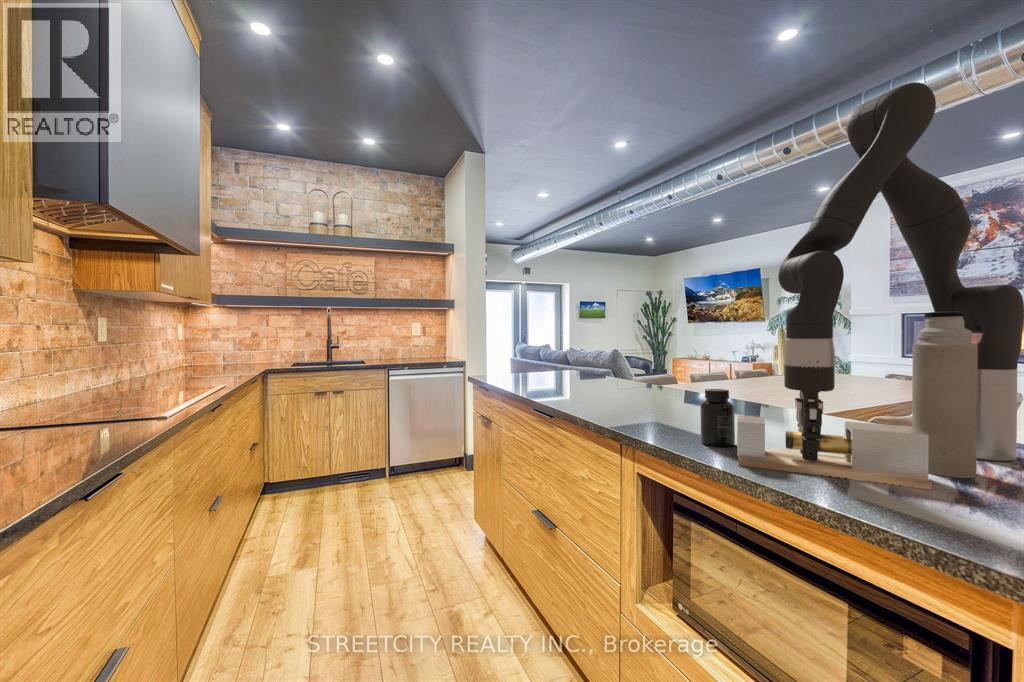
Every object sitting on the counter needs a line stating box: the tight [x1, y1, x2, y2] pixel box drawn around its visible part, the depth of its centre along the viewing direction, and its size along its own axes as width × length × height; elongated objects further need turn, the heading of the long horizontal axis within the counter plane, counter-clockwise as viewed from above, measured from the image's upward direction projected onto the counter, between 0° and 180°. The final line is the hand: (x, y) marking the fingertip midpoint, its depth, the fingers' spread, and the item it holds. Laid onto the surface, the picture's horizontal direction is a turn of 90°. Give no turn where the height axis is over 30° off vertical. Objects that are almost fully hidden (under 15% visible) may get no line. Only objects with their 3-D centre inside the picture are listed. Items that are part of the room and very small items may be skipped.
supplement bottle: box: [699, 388, 736, 448], centre depth 94 cm, size 7×7×12 cm
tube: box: [784, 430, 851, 456], centre depth 76 cm, size 16×3×3 cm, turn 61°
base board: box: [738, 448, 933, 490], centre depth 77 cm, size 10×26×1 cm, turn 61°
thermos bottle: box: [911, 311, 978, 479], centre depth 75 cm, size 8×8×28 cm
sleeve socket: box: [736, 414, 929, 479], centre depth 77 cm, size 7×27×7 cm, turn 61°
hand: (808, 456), depth 78 cm, fingers closed on tube, 3 cm apart
